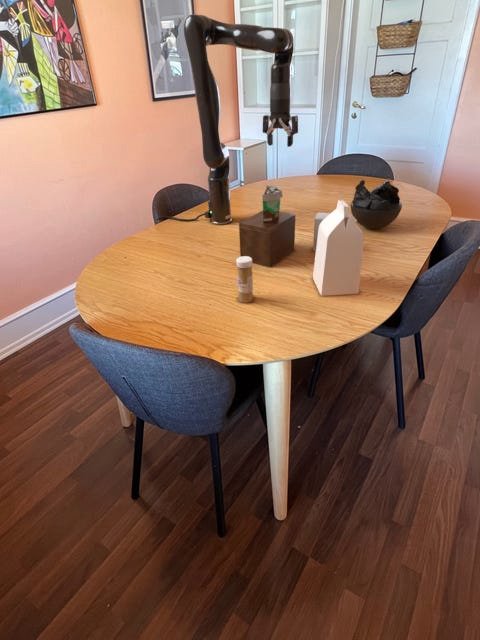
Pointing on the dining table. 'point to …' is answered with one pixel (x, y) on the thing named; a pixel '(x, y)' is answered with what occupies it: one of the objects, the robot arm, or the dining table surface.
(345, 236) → the milk
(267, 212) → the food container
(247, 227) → the dark wooden box
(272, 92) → the robot arm
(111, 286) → the dining table surface
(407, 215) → the dining table surface
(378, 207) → the bowl of black rocks
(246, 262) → the sprinkles bottle
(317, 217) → the white packaging box
